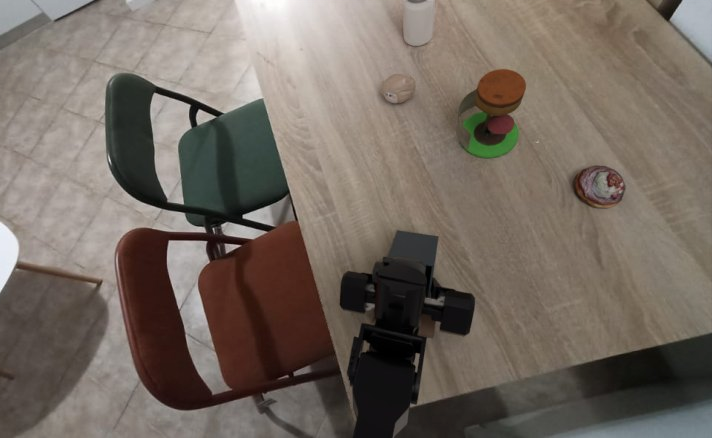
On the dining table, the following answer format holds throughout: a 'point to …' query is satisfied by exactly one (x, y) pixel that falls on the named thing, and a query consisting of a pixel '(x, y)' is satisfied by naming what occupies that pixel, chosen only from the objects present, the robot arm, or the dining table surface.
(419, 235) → the bin
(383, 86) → the beige rounded lump
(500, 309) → the dining table surface
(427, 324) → the metal block
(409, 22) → the can
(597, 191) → the pastry
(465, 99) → the toy burger
